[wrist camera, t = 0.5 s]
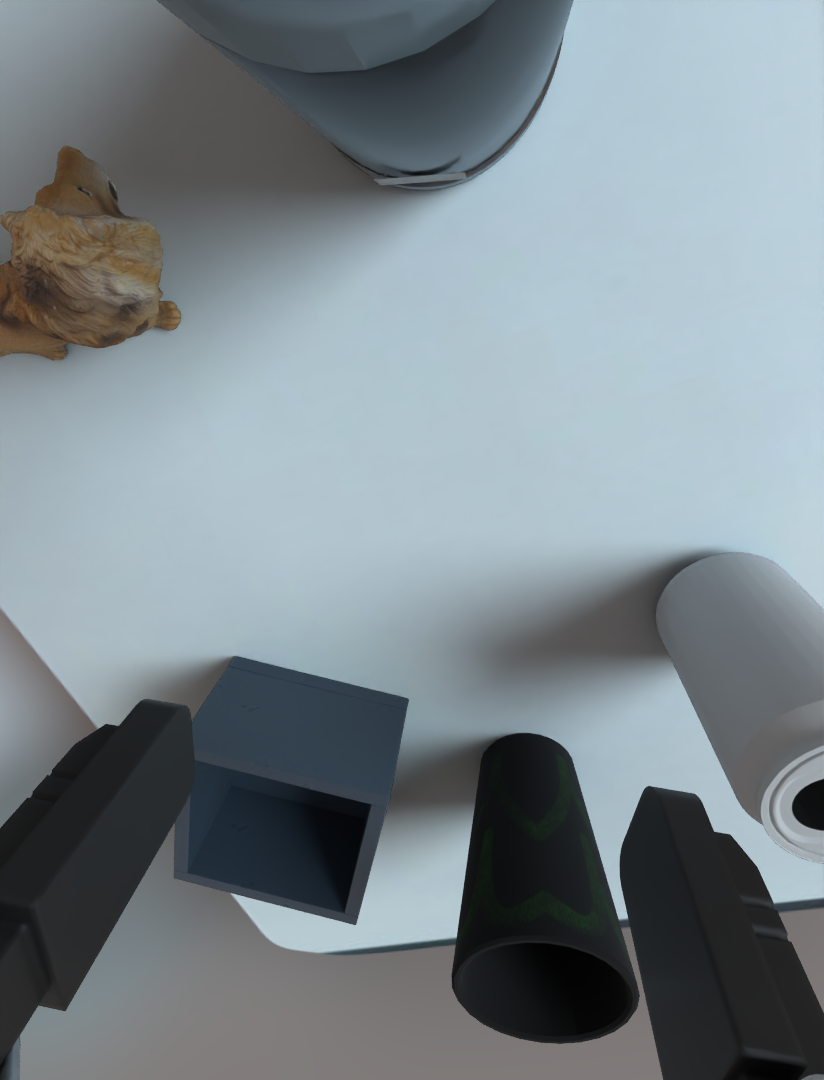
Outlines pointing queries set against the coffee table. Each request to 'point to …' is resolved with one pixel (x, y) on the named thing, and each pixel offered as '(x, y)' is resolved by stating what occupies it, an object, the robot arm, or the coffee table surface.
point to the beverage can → (755, 686)
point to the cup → (538, 905)
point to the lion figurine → (79, 267)
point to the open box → (289, 788)
